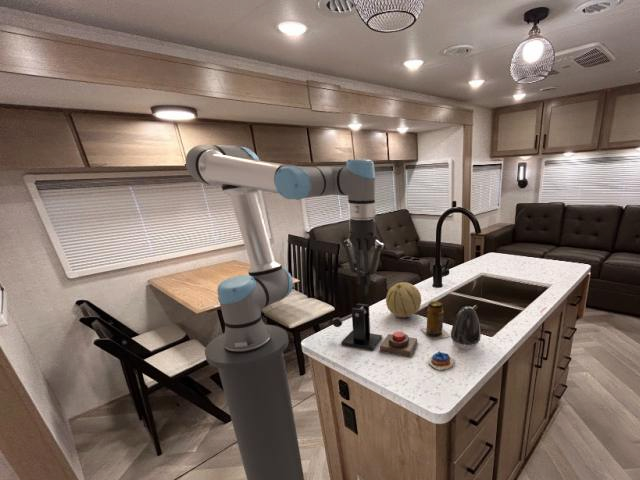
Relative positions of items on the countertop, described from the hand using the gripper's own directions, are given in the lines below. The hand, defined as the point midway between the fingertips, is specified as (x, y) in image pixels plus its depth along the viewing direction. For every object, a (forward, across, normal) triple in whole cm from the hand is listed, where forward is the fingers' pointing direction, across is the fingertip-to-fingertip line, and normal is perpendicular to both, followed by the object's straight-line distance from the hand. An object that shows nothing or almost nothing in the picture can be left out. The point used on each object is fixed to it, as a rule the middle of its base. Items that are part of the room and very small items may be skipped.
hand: (364, 294), depth 101 cm
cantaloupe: (+22, +4, +32) cm, 39 cm away
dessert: (+21, +26, +1) cm, 33 cm away
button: (+18, +10, +6) cm, 21 cm away
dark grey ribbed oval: (+21, +32, +14) cm, 41 cm away
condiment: (+21, +20, +20) cm, 36 cm away
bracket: (+22, -4, +6) cm, 23 cm away
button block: (+21, +10, +6) cm, 24 cm away
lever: (+14, -8, +7) cm, 18 cm away
